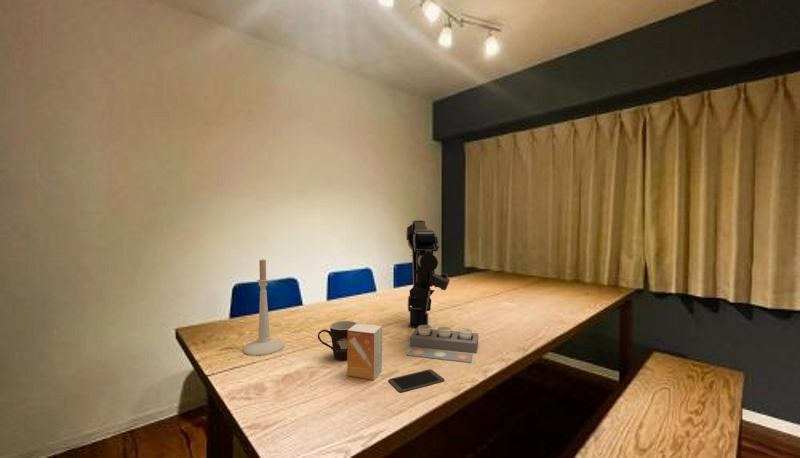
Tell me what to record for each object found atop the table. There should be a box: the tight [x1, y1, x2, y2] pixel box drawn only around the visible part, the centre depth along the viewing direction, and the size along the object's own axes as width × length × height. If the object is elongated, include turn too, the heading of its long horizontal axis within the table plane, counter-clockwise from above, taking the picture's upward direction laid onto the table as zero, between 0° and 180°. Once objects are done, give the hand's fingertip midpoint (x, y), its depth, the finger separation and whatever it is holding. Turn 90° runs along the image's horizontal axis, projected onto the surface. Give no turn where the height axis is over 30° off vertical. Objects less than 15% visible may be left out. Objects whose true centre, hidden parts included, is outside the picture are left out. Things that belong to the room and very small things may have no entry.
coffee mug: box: [317, 320, 358, 362], centre depth 109 cm, size 12×9×10 cm
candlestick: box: [242, 259, 286, 356], centre depth 115 cm, size 13×13×30 cm
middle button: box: [437, 326, 452, 338], centre depth 120 cm, size 4×4×3 cm
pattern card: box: [406, 347, 473, 364], centre depth 110 cm, size 20×6×1 cm, turn 74°
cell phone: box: [387, 368, 445, 394], centre depth 93 cm, size 7×14×1 cm, turn 117°
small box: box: [346, 323, 383, 381], centre depth 97 cm, size 8×6×13 cm
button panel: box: [409, 327, 479, 354], centre depth 120 cm, size 22×10×3 cm, turn 74°
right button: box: [458, 327, 473, 340], centre depth 118 cm, size 4×4×3 cm
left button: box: [417, 324, 432, 336], centre depth 121 cm, size 4×4×3 cm
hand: (424, 311), depth 121 cm, fingers closed
